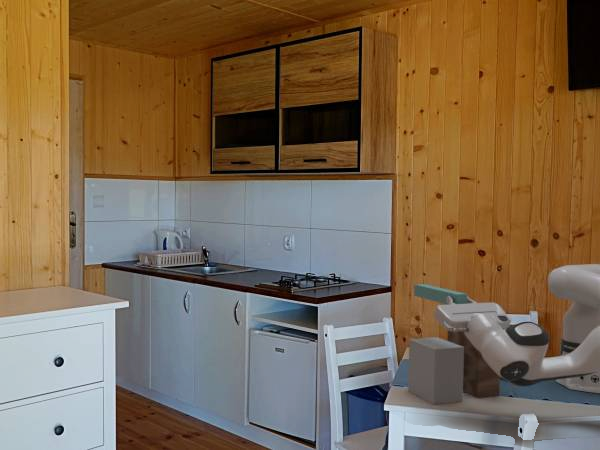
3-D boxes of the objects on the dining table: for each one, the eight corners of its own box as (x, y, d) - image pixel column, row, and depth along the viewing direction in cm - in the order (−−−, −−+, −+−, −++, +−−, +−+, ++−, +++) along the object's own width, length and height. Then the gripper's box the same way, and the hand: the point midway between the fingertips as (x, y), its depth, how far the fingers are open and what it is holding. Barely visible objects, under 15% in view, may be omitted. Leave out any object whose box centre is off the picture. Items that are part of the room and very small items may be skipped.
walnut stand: (499, 395, 192) (501, 310, 191) (477, 398, 189) (479, 311, 188) (466, 381, 206) (469, 302, 206) (446, 383, 204) (448, 303, 203)
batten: (466, 306, 178) (467, 294, 178) (456, 306, 177) (456, 294, 176) (423, 295, 198) (424, 284, 198) (414, 295, 197) (414, 284, 197)
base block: (462, 400, 186) (464, 347, 185) (433, 404, 182) (435, 349, 181) (435, 387, 199) (437, 337, 198) (408, 390, 195) (409, 339, 194)
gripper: (445, 341, 167) (421, 307, 177) (508, 336, 174) (481, 304, 185) (453, 322, 163) (428, 290, 174) (516, 318, 171) (488, 287, 182)
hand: (455, 297), depth 180 cm, fingers closed on batten, 3 cm apart
